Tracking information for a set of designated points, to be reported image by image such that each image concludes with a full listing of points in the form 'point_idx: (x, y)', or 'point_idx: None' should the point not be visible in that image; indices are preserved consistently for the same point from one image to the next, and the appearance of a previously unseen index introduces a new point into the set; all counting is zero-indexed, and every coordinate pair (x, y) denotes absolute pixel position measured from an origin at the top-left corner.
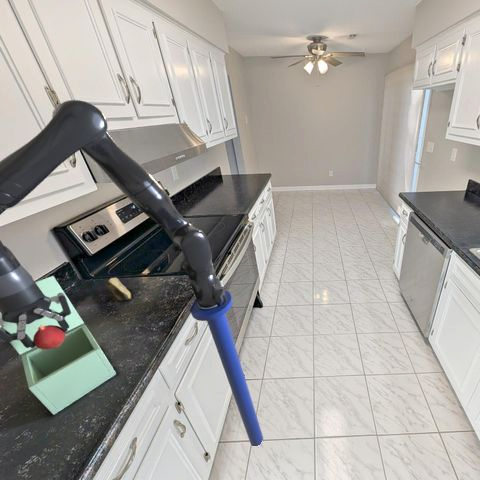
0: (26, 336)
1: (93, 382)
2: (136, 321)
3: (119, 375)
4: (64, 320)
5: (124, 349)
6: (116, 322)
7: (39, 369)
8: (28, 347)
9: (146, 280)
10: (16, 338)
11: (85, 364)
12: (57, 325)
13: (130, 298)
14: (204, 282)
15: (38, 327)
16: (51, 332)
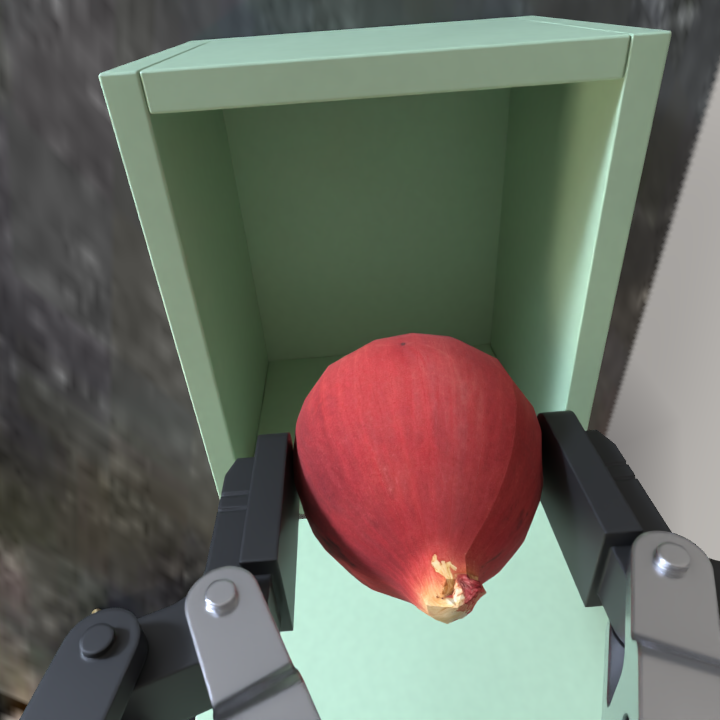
0: (606, 550)
1: (306, 34)
2: (64, 432)
3: (173, 5)
4: (213, 558)
5: (134, 247)
6: (168, 496)
7: None
8: (591, 432)
9: (18, 679)
10: (708, 575)
11: (270, 52)
12: (353, 590)
13: (94, 610)
14: None
15: (456, 638)
16: (379, 465)
